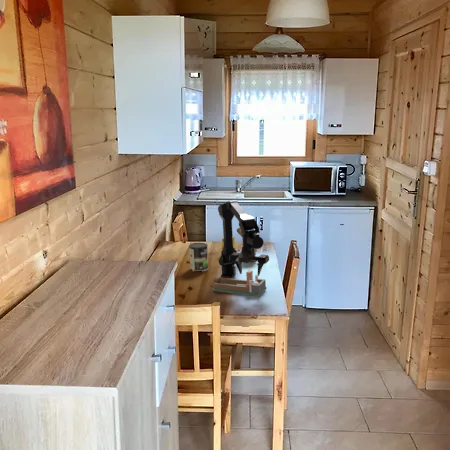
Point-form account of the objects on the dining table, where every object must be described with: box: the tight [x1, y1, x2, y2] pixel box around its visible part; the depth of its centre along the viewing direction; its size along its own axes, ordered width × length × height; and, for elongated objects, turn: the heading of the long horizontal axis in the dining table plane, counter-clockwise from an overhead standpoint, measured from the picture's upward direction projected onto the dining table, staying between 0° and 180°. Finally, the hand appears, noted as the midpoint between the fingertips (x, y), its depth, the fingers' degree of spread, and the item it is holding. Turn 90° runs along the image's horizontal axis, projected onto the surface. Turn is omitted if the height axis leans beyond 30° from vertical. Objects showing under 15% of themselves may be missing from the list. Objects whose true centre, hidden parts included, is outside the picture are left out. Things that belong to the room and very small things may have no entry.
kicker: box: [236, 269, 255, 287], centre depth 239 cm, size 8×6×9 cm
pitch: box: [212, 274, 267, 297], centre depth 240 cm, size 24×11×7 cm, turn 66°
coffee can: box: [188, 242, 209, 272], centre depth 274 cm, size 10×10×14 cm
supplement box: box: [221, 236, 236, 250], centre depth 299 cm, size 6×6×11 cm
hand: (249, 274), depth 237 cm, fingers open, 9 cm apart
